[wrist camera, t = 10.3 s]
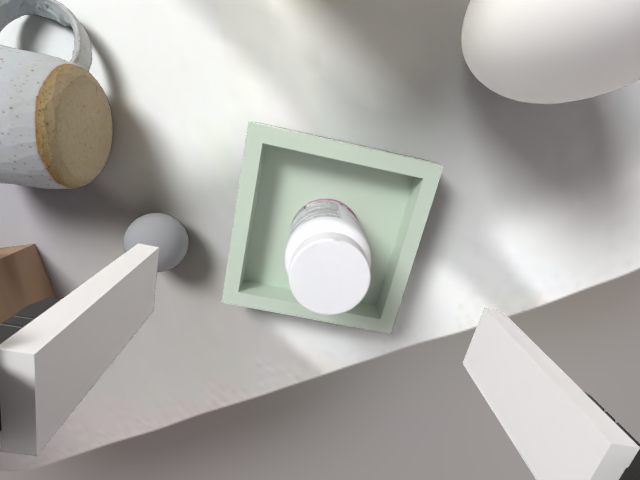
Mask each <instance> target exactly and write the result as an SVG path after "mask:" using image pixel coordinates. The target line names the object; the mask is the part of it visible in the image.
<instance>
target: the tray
mask: <svg viewBox="0 0 640 480" xmlns="http://www.w3.org/2000/svg"><path fill="white" fill-rule="evenodd" d="M443 167H444V166H442V165H440V164H437V163H434V162H431V161H428V160H423V159H419V158H414V157H410V156H405V155H401V154H396V153H392V152H387V151H383V150H379V149H374V148H370V147H365V146H361V145H356V144H352V143H347V142H343V141H339V140H334V139H330V138H325V137H321V136H316V135H312V134H307V133H303V132H298V131H294V130H290V129H285V128H281V127H276V126H272V125H267V124H263V123H258V122H248V128H247V135H246V141H245V148H244V155H243V162H242V168H241V175H240V182H239V188H238V195H237V202H236V208H235V215H234V222H233V229H232V235H231V242H230V249H229V255H228V262H227V269H226V276H225V282H224V289H223V296H222V302H221V303H226V304H232V305H237V306H242V307H248V308H253V309H258V310H264V311H269V312H275V313H280V314H285V315H291V316H296V317H301V318H307V319H312V320H317V321H323V322H328V323H333V324H339V325H344V326H349V327H355V328H360V329H366V330H371V331H376V332H382V333H387V334H391V332H392V329H393V325H394V322H395V319H396V316H397V313H398V310H399V306H400V303H401V300H402V297H403V294H404V291H405V287H406V284H407V281H408V278H409V275H410V272H411V268H412V265H413V262H414V259H415V256H416V253H417V249H418V246H419V243H420V240H421V237H422V234H423V230H424V227H425V224H426V221H427V218H428V215H429V211H430V208H431V205H432V202H433V199H434V196H435V192H436V189H437V186H438V183H439V180H440V177H441V173H442V170H443ZM322 198H329V199H335V200H338V201H340V202H342V203H344V204H345V205H347V206H348V207H349V208H350V209H351V210H352V211H353V212H354V214H355V215H356V217H357V219H358V222H359V224H360V226H361V228H362V230H363V233H364V235H365V237H366V240H367V242H368V244H369V248H370V251H371V267H370V274H371V279H370V285H369V288H368V291H367V293H366V295H365V296H364V298H363V299H362V300H361V301H360V302H359V304H357V305H356V306H355V307H354V308H352V309H350V310H349V311H346V312H344V313H340V314H335V315H323V314H318V313H315V312H312V311H310V310H308V309H306V308H305V307H304V306H302V305H301V304H300V303H299V302H298V301H297V300H296V298H295V297H294V295H293V293H292V291H291V289H290V285H289V277H288V275H287V272H286V268H285V250H286V245H287V241H288V237H289V233H290V229H291V224H292V221H293V219H294V217H295V215H296V213H297V212H298V211H299V210H300V209H301V207H303V206H304V205H305V204H307V203H308V202H310V201H313V200H316V199H322Z"/></svg>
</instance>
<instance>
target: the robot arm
mask: <svg viewBox="0 0 640 480" xmlns="http://www.w3.org/2000/svg"><path fill="white" fill-rule="evenodd" d="M158 254H159V247H155V246H150V245H145V244H139V243H138V244H137V245H135V246H134V247H133V248H131V249H130V250H128V251H127V252H126V253H124V254H123V255H122V256H120V257H119V258H118V259H116V260H115V261H113V262H112V263H111V264H109V265H108V266H107V267H105V268H104V269H102V270H101V271H100V272H98V273H97V274H96V275H94V276H93V277H92V278H90V279H89V280H87V281H86V282H85V283H83V284H82V285H81V286H79V287H78V288H76V289H75V290H74V291H72V292H71V293H70V294H68V295H67V296H66V297H64V298H63V299H57V298H51V297H49V298H46V299H43V300H40V301H38V302H35V303H32V304H29V305H28V306H26V307H25V308H23V309H22V310H20V311H19V312H17V313H16V314H14V317H12V316H11V317H10V318H8V319H7V320H5V321H4V322H2V324H1V325H0V442H1V452H9V453H17V454H25V455H32V456H37V455H38V454H39V453H40V452H41V450H42V449H43V448H44V447H45V445H46V444H47V443H48V442H49V440H50V439H51V438H52V437H53V435H54V434H55V433H56V432H57V430H58V429H59V428H60V427H61V425H62V424H63V423H64V422H65V420H66V419H67V418H68V417H69V415H70V414H71V413H72V412H73V411H74V409H75V408H76V407H77V406H78V404H79V403H80V402H81V401H82V399H83V398H84V397H85V396H86V394H87V393H88V392H89V391H90V389H91V388H92V387H93V386H94V384H95V383H96V382H97V381H98V379H99V378H100V377H101V376H102V374H103V373H104V372H105V371H106V370H107V368H108V367H109V366H110V365H111V363H112V362H113V361H114V360H115V358H116V357H117V356H118V355H119V353H120V352H121V351H122V350H123V348H124V347H125V346H126V345H127V343H128V342H129V341H130V340H131V338H132V337H133V336H134V335H135V333H136V332H137V331H138V330H139V329H140V327H141V326H142V325H143V324H144V322H145V321H146V320H147V319H148V317H149V316H150V315H151V314H152V312H153V311H154V300H155V289H156V277H157V266H158ZM463 365H464V366H465V368H466V370H467V371H468V373H469V374H470V376H471V378H472V379H473V381H474V382H475V384H476V385H477V387H478V389H479V390H480V392H481V393H482V395H483V397H484V398H485V400H486V401H487V403H488V404H489V406H490V408H491V409H492V411H493V412H494V414H495V416H496V417H497V418H498V420H499V422H500V423H501V425H502V427H503V428H504V430H505V431H506V433H507V434H508V436H509V438H510V439H511V441H512V442H513V444H514V445H515V447H516V448H517V450H518V452H519V453H520V455H521V457H522V458H523V460H524V461H525V463H526V464H527V466H528V467H529V469H530V471H531V472H532V474H533V475H534V477H535V478H536V480H640V444H639V443H638V442H637V441H636V440H635V439H634V438H633V437H632V436H631V435H630V434H629V433H628V432H627V431H626V430H625V429H624V428H623V427H622V426H621V425H620V424H619V423H616V422H615V419H614V418H613V417H612V416H610V414H608V412H605V411H604V409H603V408H602V407H601V406H600V405H599V404H598V403H597V402H596V401H595V400H594V399H593V398H592V397H591V396H590V395H588V394H587V393H586V392H584V391H583V390H581V389H580V388H579V387H578V386H577V385H576V384H575V383H574V382H573V381H572V380H571V379H570V378H569V377H568V376H567V375H566V374H565V373H564V372H563V371H562V370H561V369H560V368H559V367H558V366H557V365H556V364H555V363H554V362H553V361H552V360H550V358H549V357H548V356H547V355H546V354H545V353H544V352H543V351H542V350H541V349H540V348H539V347H538V346H537V345H536V344H535V343H534V342H533V341H532V340H530V338H529V337H528V336H527V335H525V333H524V332H522V330H521V329H520V328H518V327H517V325H515V324H514V323H513V322H512V321H511V320H510V319H509V318H508V317H507V316H506V315H505V314H504V313H503V312H502V311H499V310H494V309H488V308H484V310H483V313H482V315H481V318H480V320H479V323H478V325H477V328H476V331H475V333H474V336H473V338H472V341H471V343H470V346H469V348H468V351H467V353H466V356H465V359H464V361H463Z"/></svg>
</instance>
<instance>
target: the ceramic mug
mask: <svg viewBox="0 0 640 480" xmlns="http://www.w3.org/2000/svg"><path fill="white" fill-rule="evenodd" d="M32 14H35V15H39V16H42V17H46V18H49V19H53V20H55V21H58V22H59V23H60V24H61V25H63V26H72V29H73V32H74V35H75V41H74V51H73V57H72V59H71V61H70V62H67V61H65V60H63V59H60V58H57V57H53V56H50V55H46V54H41V53H36V52H31V51H26V50H21V49H15V48H11V47H7V46H3V45H0V183H8V184H16V185H24V186H30V187H37V188H46V189H74V188H79V187H83V186H85V185H87V184H89V183H90V182H92V181H93V180H94V179H95V178H96V177H97V176H98V175H99V174H100V173H101V171H102V170H103V168H104V166H105V164H106V162H107V160H108V157H109V154H110V151H111V144H112V137H113V125H112V116H111V109H110V106H109V102H108V99H107V97H106V95H105V93H104V91H103V89H102V87H101V86H100V84H99V83H98V81H97V80H96V79H95V78H94V77H93V76H92V75H91V74H90V73H89V69H90V66H91V63H92V47H91V42H90V39H89V36H88V34H87V32H86V30H85V28H84V27H83V26H82V24H81V23H80V22H79V21H78V19H77V18H76V17H75V16H74V15H73V13H72V12H71V11H70V10H69V9H68V8H66V7H65V6H64V5H63V4H61V3H60V2H58V1H56V0H0V32H1V31H2V29H3V28H4V27H5V26H6V25H7V24H9V23H10V22H12V21H13V20H15V19H17V18H19V17H21V16H23V15H32Z"/></svg>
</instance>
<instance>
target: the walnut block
mask: <svg viewBox="0 0 640 480" xmlns="http://www.w3.org/2000/svg"><path fill="white" fill-rule="evenodd" d="M49 297H51V298H56V297H55V294H54V292H53V289H52V287H51V284H50V282H49V279H48V276H47V274H46V271H45V269H44V266H43V264H42V261H41V258H40V256H39V253H38V251H37V248H36V246H35V244H29V245H21V246H13V247H5V248H0V325H1V324H2V322H4V321H5V320H7V319H8V318H10V317H11V316H12V317H14V314H16V313H17V312H19V311H20V310H22V309H23V308H25V307H26V306H28V305H29V304H32V303H35V302H38V301H40V300H43V299H46V298H49Z"/></svg>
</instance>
